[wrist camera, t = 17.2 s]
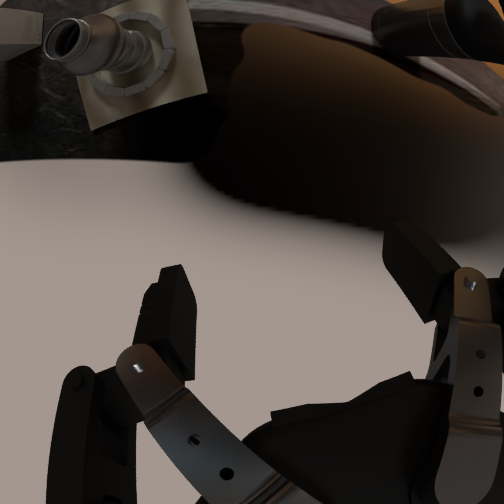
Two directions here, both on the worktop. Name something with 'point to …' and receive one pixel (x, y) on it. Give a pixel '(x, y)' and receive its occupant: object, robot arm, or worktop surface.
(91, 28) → the plastic bottle
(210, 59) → the worktop surface
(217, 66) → the worktop surface
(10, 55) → the skincare box
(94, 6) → the worktop surface
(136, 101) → the birch board
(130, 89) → the steel collar
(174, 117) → the worktop surface
